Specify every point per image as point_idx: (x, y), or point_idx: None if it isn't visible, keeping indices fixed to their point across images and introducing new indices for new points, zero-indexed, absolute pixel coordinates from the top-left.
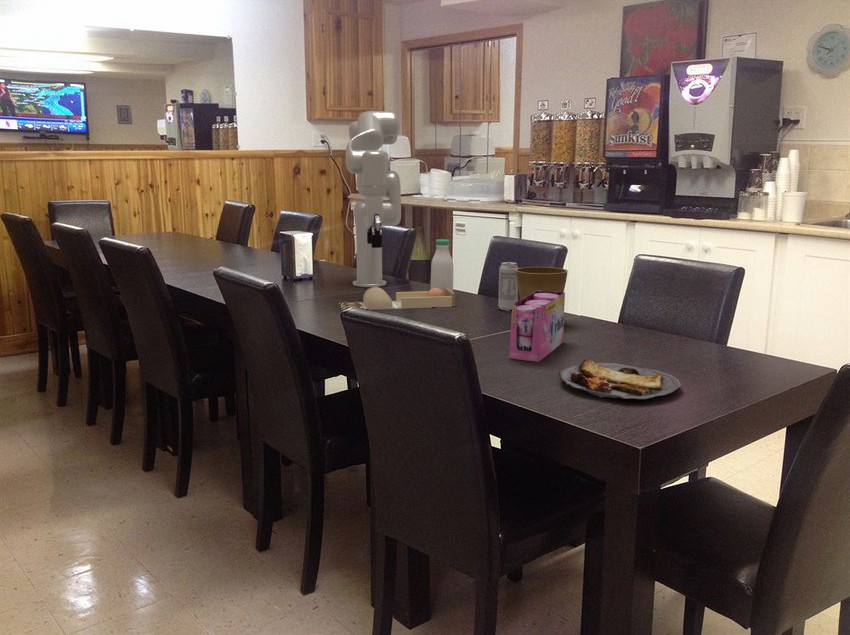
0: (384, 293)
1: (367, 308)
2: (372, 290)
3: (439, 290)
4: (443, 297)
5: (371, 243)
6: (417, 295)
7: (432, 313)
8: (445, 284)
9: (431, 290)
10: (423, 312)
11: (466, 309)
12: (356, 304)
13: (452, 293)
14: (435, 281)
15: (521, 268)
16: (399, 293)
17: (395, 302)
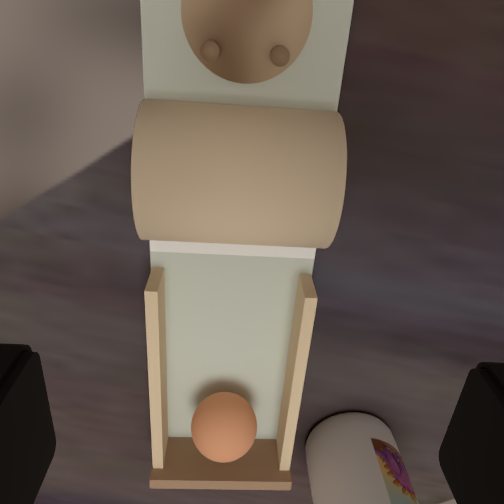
0: (134, 219)
1: (148, 97)
2: (253, 171)
3: (205, 456)
4: (152, 441)
5: (458, 403)
6: (290, 370)
7: (37, 352)
8: (313, 498)
9: (213, 432)
10: (60, 327)
11: (106, 460)
12: (206, 41)
13: (151, 481)
14: (338, 483)
15: None
16: (302, 308)
17: (278, 265)
